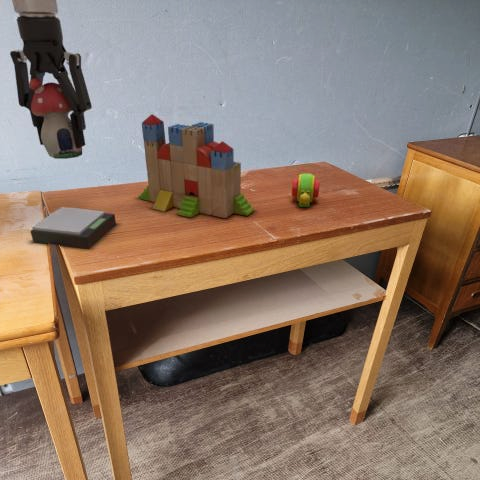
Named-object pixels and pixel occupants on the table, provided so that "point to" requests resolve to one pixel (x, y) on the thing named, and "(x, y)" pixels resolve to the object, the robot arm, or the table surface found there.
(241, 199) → the block set
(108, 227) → the kitchen scale
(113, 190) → the table surface
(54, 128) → the decorative ornament
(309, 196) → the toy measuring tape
